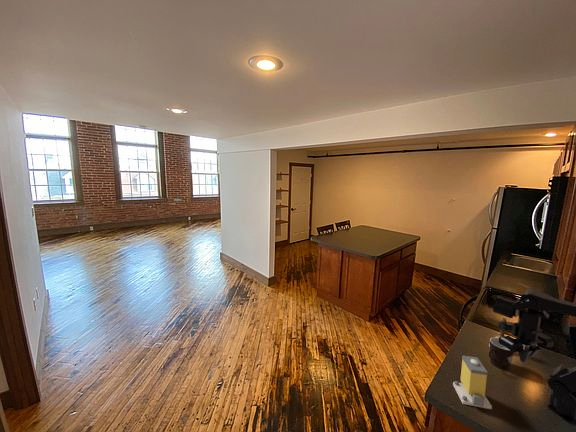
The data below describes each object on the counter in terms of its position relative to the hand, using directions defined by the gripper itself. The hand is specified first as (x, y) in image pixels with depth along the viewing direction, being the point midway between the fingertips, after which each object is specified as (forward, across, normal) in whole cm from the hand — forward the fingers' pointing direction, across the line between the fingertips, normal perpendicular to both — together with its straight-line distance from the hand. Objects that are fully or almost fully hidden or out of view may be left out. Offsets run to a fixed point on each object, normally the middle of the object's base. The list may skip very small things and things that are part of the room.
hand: (522, 361), depth 95 cm
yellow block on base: (+10, +21, -1) cm, 23 cm away
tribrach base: (+12, +21, -1) cm, 24 cm away
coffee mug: (+12, -5, -13) cm, 19 cm away
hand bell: (+12, -17, -21) cm, 30 cm away
